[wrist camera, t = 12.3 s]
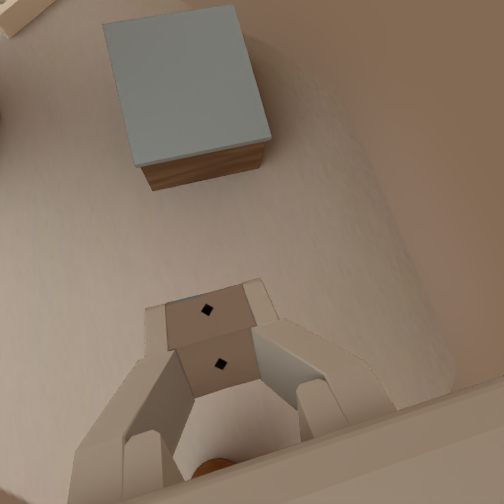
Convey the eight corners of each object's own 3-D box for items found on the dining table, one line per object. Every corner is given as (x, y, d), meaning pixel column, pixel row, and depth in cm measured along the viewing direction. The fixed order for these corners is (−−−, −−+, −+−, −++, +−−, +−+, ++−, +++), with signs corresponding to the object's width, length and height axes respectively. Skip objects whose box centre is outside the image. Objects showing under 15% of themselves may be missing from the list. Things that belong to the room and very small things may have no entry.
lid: (270, 140, 41) (271, 136, 40) (135, 167, 39) (134, 164, 38) (233, 9, 43) (233, 3, 42) (104, 29, 41) (102, 24, 40)
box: (258, 168, 49) (266, 138, 41) (152, 191, 47) (139, 164, 39) (228, 62, 51) (230, 15, 43) (126, 80, 49) (109, 34, 42)
